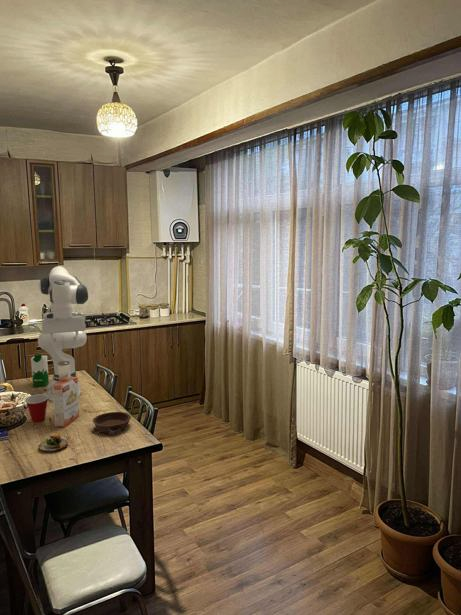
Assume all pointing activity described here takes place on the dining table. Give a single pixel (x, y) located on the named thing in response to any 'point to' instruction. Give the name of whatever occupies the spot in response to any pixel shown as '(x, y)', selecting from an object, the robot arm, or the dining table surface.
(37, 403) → the plastic cup
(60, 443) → the burger
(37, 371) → the milk carton
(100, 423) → the dish
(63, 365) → the tea canister
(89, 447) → the dining table surface
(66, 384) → the cracker box
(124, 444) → the dining table surface
